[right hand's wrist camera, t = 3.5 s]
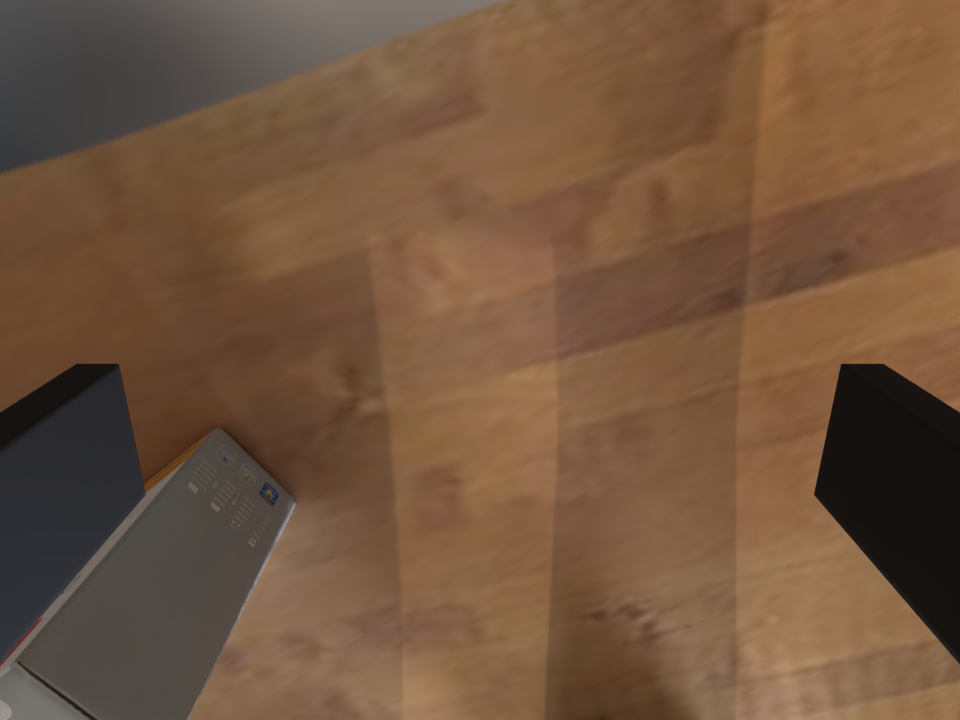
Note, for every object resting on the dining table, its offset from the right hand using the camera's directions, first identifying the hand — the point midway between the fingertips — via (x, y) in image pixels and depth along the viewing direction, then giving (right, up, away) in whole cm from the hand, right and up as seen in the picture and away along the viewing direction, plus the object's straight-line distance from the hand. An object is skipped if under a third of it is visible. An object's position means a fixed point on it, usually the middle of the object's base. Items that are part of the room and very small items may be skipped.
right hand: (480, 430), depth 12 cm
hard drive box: (-21, -10, +34) cm, 41 cm away
